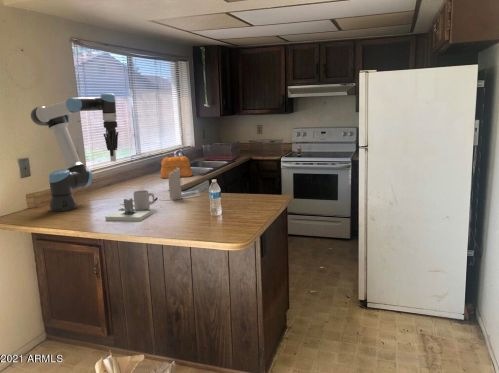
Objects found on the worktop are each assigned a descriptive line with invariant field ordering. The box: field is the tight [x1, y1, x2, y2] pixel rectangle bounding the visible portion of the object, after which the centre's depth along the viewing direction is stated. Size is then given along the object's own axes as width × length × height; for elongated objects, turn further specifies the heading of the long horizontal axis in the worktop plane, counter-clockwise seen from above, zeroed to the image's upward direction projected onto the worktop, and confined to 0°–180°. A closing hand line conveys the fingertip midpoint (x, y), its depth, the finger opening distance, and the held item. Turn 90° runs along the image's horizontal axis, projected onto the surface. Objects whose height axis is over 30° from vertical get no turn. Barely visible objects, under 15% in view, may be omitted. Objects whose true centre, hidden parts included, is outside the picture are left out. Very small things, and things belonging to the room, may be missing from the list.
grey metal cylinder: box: [123, 197, 134, 215], centre depth 233 cm, size 5×5×10 cm
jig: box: [104, 207, 153, 222], centre depth 234 cm, size 20×16×3 cm
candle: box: [159, 168, 183, 201], centre depth 273 cm, size 7×14×20 cm, turn 108°
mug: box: [133, 189, 156, 209], centre depth 248 cm, size 12×8×11 cm
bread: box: [160, 155, 193, 179], centre depth 361 cm, size 16×26×17 cm, turn 103°
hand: (113, 161), depth 249 cm, fingers closed
